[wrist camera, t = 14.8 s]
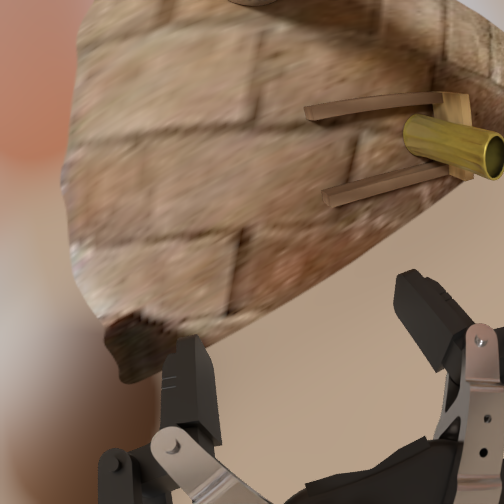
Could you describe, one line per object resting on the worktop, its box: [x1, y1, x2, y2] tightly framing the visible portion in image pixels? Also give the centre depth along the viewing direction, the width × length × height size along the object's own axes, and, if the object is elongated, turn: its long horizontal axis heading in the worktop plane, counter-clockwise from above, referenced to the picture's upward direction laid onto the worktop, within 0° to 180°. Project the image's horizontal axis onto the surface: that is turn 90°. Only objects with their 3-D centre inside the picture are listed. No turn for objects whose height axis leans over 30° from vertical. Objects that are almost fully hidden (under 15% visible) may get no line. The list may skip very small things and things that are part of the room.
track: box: [304, 91, 474, 208], centre depth 30 cm, size 12×22×6 cm, turn 105°
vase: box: [403, 114, 504, 180], centre depth 27 cm, size 6×6×14 cm
